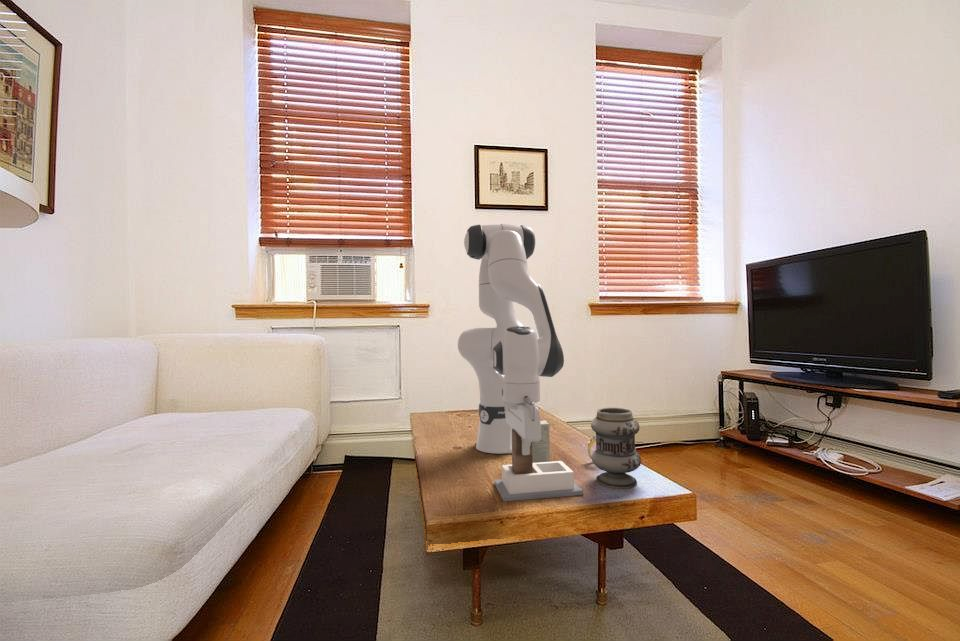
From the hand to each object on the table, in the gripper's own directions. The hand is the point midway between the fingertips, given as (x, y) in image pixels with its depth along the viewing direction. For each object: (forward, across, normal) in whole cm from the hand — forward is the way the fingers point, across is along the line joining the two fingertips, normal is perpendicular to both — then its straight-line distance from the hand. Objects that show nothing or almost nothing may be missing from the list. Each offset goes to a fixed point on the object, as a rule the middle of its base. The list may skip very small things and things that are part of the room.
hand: (522, 451), depth 103 cm
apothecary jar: (+10, +1, -25) cm, 27 cm away
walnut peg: (+5, 0, 0) cm, 5 cm away
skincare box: (+10, +17, -9) cm, 22 cm away
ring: (+10, +16, -27) cm, 33 cm away
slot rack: (+10, 0, -4) cm, 10 cm away
